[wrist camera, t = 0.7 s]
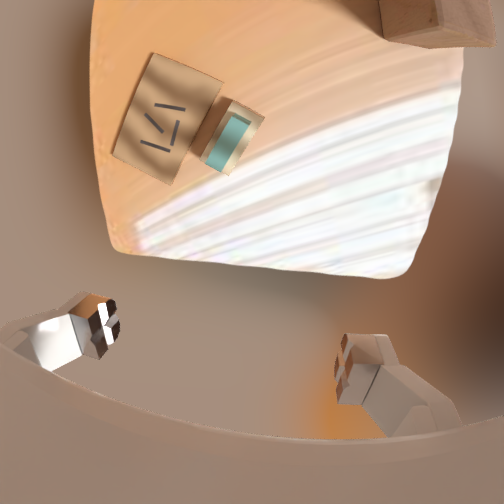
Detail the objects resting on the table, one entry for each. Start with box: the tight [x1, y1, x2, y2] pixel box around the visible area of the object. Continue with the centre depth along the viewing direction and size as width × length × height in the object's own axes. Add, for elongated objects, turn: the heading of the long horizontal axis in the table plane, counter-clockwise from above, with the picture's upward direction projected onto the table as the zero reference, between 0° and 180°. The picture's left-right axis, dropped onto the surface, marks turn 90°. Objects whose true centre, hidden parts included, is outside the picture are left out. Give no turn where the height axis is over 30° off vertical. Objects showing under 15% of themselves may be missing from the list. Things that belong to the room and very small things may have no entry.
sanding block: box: [199, 100, 265, 176], centre depth 45 cm, size 12×6×6 cm, turn 150°
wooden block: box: [379, 0, 496, 49], centre depth 22 cm, size 10×10×20 cm
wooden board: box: [112, 53, 224, 186], centre depth 46 cm, size 22×14×1 cm, turn 150°
